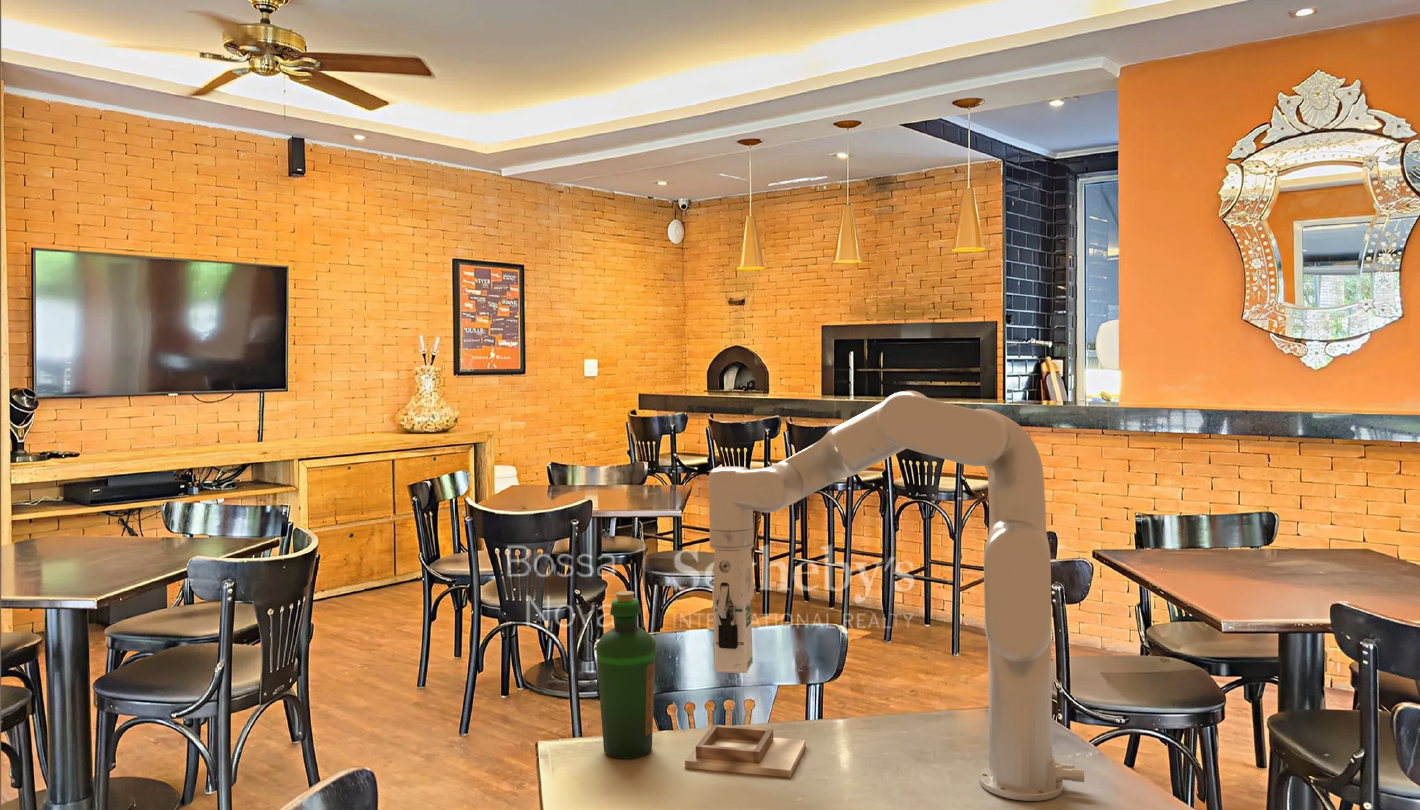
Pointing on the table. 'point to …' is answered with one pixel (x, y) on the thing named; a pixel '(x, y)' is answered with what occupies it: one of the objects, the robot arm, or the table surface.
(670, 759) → the table surface
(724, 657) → the syrup box
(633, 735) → the bottle
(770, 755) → the stand board
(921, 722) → the table surface
